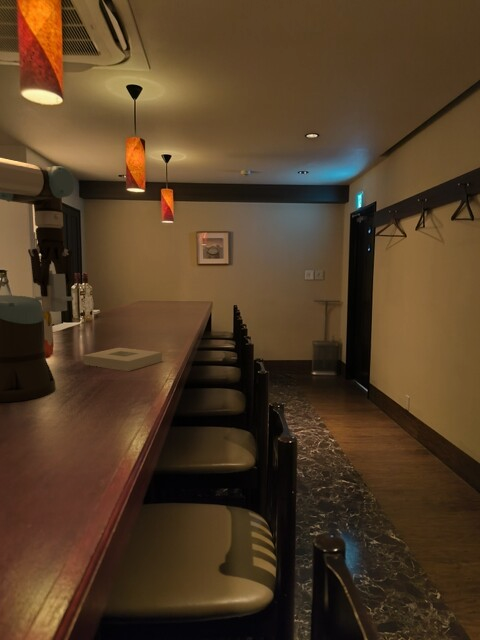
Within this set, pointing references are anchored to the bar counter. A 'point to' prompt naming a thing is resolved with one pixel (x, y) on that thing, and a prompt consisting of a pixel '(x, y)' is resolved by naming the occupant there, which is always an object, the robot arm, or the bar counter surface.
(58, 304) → the servo
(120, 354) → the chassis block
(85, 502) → the bar counter surface
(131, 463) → the bar counter surface
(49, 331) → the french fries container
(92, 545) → the bar counter surface
